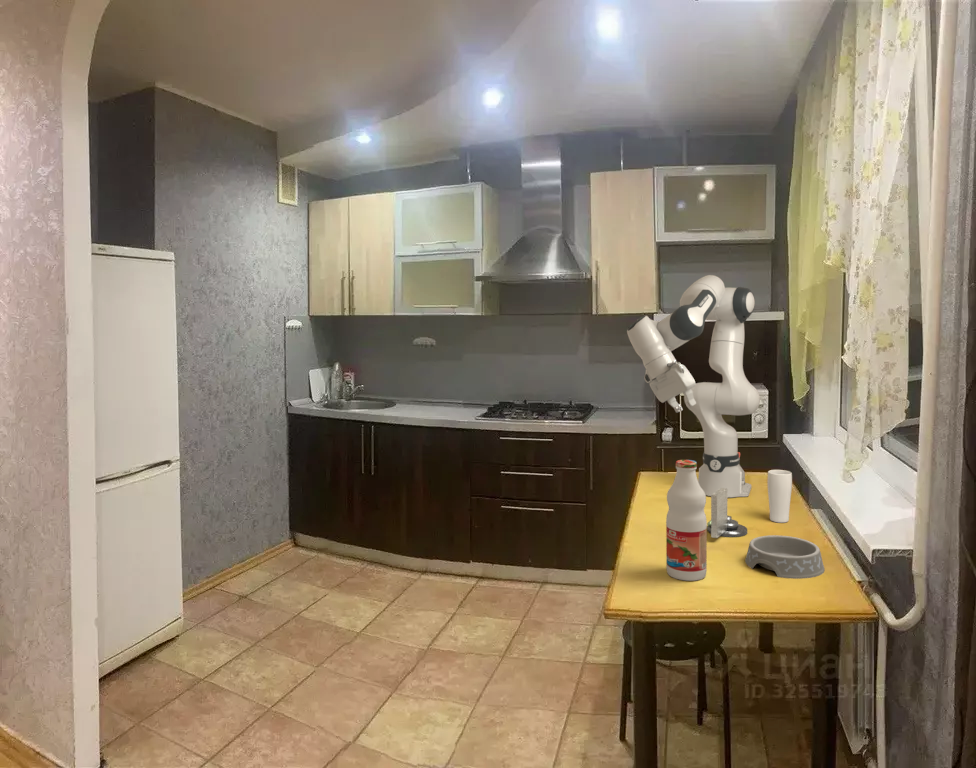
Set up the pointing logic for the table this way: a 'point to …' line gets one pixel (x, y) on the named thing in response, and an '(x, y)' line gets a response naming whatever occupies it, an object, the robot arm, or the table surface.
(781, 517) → the drinking glass
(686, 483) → the white plastic bottle
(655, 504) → the table surface
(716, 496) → the upright slab
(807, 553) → the dog bowl
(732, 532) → the base
